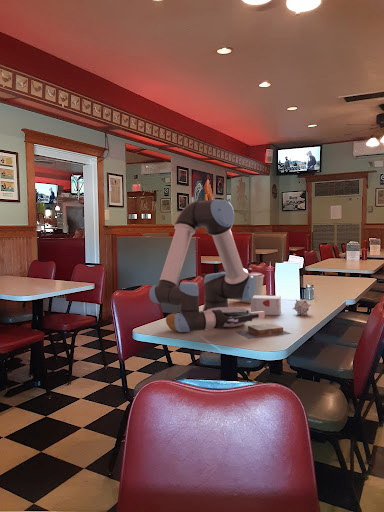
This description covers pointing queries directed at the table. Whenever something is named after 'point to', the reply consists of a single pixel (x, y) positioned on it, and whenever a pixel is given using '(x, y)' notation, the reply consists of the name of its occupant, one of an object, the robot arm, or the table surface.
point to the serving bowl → (230, 309)
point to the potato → (171, 321)
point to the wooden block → (265, 329)
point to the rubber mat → (251, 335)
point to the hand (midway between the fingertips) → (263, 314)
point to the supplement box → (266, 304)
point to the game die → (301, 307)
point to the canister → (258, 283)
